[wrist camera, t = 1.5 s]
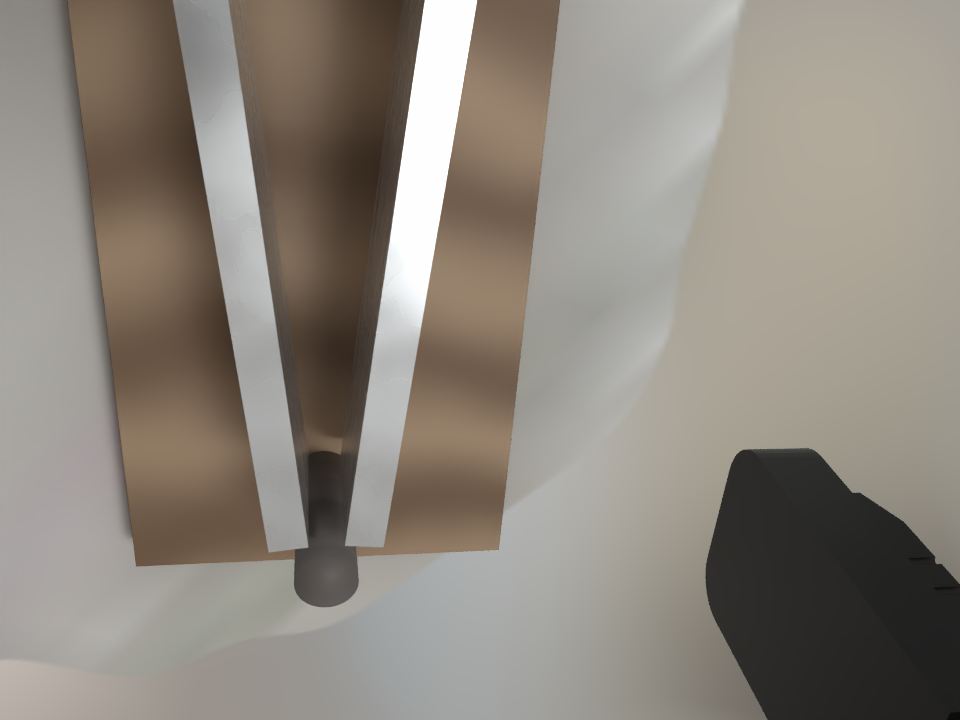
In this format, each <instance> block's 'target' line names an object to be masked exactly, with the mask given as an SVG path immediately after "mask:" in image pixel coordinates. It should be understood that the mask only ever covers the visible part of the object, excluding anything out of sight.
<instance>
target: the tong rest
mask: <svg viewBox="0 0 960 720" xmlns="http://www.w3.org/2000/svg"><path fill="white" fill-rule="evenodd" d="M67 2H68V10H69V18H70V26H71V34H72V43H73V51H74V59H75V67H76V76H77V84H78V92H79V100H80V108H81V117H82V125H83V133H84V141H85V150H86V158H87V166H88V174H89V182H90V191H91V199H92V207H93V215H94V224H95V232H96V240H97V248H98V256H99V265H100V273H101V281H102V289H103V298H104V306H105V314H106V322H107V330H108V339H109V347H110V355H111V363H112V372H113V380H114V388H115V396H116V404H117V413H118V421H119V429H120V437H121V446H122V454H123V462H124V470H125V478H126V487H127V495H128V503H129V511H130V520H131V528H132V536H133V544H134V552H135V561H136V566H154V565H176V564H198V563H220V562H242V561H264V560H286V559H295V571H294V587H295V591H296V593H297V595H298V596H299V597H300V598H301V599H302V600H303V601H304V602H306V603H308V604H310V605H313V606H317V607H332V606H336V605H339V604H341V603H343V602H345V601H347V600H348V599H349V598H351V597H352V596H353V594H354V593H355V592H356V590H357V587H358V582H359V580H358V566H357V556H374V555H396V554H418V553H440V552H462V551H483V550H499V542H500V534H501V525H502V516H503V507H504V498H505V489H506V480H507V471H508V462H509V453H510V444H511V435H512V426H513V417H514V408H515V399H516V390H517V381H518V372H519V363H520V354H521V345H522V336H523V327H524V318H525V309H526V300H527V292H528V283H529V274H530V265H531V256H532V247H533V238H534V229H535V220H536V211H537V202H538V193H539V184H540V175H541V166H542V157H543V148H544V139H545V130H546V121H547V112H548V103H549V94H550V85H551V76H552V67H553V58H554V50H555V41H556V32H557V23H558V14H559V5H560V0H477V2H476V8H475V14H474V20H473V26H472V32H471V37H470V43H469V49H468V55H467V61H466V67H465V73H464V78H463V84H462V90H461V96H460V102H459V108H458V114H457V120H456V125H455V131H454V137H453V143H452V149H451V155H450V161H449V167H448V172H447V178H446V184H445V190H444V196H443V202H442V208H441V213H440V219H439V225H438V231H437V237H436V243H435V249H434V255H433V260H432V266H431V272H430V278H429V284H428V290H427V296H426V302H425V307H424V313H423V319H422V325H421V331H420V337H419V343H418V348H417V354H416V360H415V366H414V372H413V378H412V384H411V390H410V395H409V401H408V407H407V413H406V419H405V425H404V431H403V437H402V442H401V448H400V454H399V460H398V466H397V472H396V478H395V483H394V489H393V495H392V501H391V507H390V513H389V519H388V525H387V530H386V536H385V542H384V547H359V546H345V537H344V518H343V500H342V481H341V463H340V453H341V445H342V438H343V431H344V423H345V416H346V409H347V401H348V394H349V387H350V379H351V372H352V365H353V357H354V350H355V343H356V335H357V328H358V321H359V313H360V306H361V299H362V291H363V284H364V276H365V269H366V262H367V254H368V247H369V240H370V232H371V225H372V218H373V210H374V203H375V196H376V188H377V181H378V174H379V166H380V159H381V152H382V144H383V137H384V130H385V122H386V115H387V108H388V100H389V93H390V86H391V78H392V71H393V64H394V56H395V49H396V42H397V34H398V27H399V20H400V12H401V5H402V0H246V8H247V15H248V22H249V29H250V37H251V44H252V51H253V58H254V66H255V73H256V80H257V87H258V95H259V102H260V109H261V116H262V124H263V131H264V138H265V145H266V153H267V160H268V167H269V174H270V182H271V189H272V196H273V203H274V211H275V218H276V225H277V232H278V239H279V247H280V254H281V261H282V268H283V276H284V283H285V290H286V297H287V305H288V312H289V319H290V326H291V334H292V341H293V348H294V355H295V363H296V370H297V377H298V384H299V392H300V399H301V406H302V413H303V421H304V428H305V435H306V442H307V450H308V548H301V549H293V550H285V551H277V552H268V546H267V540H266V534H265V529H264V523H263V517H262V511H261V506H260V500H259V494H258V488H257V483H256V477H255V471H254V465H253V459H252V454H251V448H250V442H249V436H248V431H247V425H246V419H245V413H244V408H243V402H242V396H241V390H240V385H239V379H238V373H237V367H236V362H235V356H234V350H233V344H232V339H231V333H230V327H229V321H228V315H227V310H226V304H225V298H224V292H223V287H222V281H221V275H220V269H219V264H218V258H217V252H216V246H215V241H214V235H213V229H212V223H211V218H210V212H209V206H208V200H207V195H206V189H205V183H204V177H203V171H202V166H201V160H200V154H199V148H198V143H197V137H196V131H195V125H194V120H193V114H192V108H191V102H190V97H189V91H188V85H187V79H186V74H185V68H184V62H183V56H182V51H181V45H180V39H179V33H178V28H177V22H176V16H175V10H174V4H173V0H67Z"/></svg>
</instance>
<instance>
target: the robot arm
mask: <svg viewBox="0 0 960 720" xmlns="http://www.w3.org/2000/svg"><path fill="white" fill-rule="evenodd" d="M706 589H707V596H708V601H709V605H710V608H711V611H712V614H713V616H714V618H715V621H716V623H717V625H718V627H719V628H720V630H721V632H722V634H723V636H724V638H725V640H726V642H727V643H728V645H729V647H730V649H731V651H732V653H733V655H734V657H735V659H736V660H737V662H738V664H739V666H740V668H741V670H742V672H743V674H744V676H745V678H746V679H747V681H748V683H749V685H750V687H751V689H752V691H753V692H754V694H755V696H756V698H757V700H758V702H759V704H760V706H761V708H762V709H763V712H764V713H765V715H766V717H767V719H768V720H960V584H959V583H958V582H957V581H956V580H955V579H954V577H953V576H952V575H951V574H950V573H949V572H948V571H947V570H946V568H945V567H944V566H943V565H942V564H936V563H935V556H934V555H933V554H932V553H931V552H930V551H929V549H927V548H926V546H925V545H924V544H923V543H922V542H921V541H920V539H919V538H918V537H917V536H916V535H915V534H914V533H913V532H912V530H911V529H910V528H909V527H908V526H907V525H906V524H905V523H904V522H903V521H901V520H900V519H899V518H897V517H895V516H894V515H893V514H891V513H889V512H888V511H887V510H885V509H884V508H882V507H881V506H879V505H878V504H876V503H875V502H873V501H872V500H870V499H868V498H867V497H865V496H864V495H862V494H861V493H852V492H851V491H850V490H849V488H847V486H846V485H845V484H844V483H843V481H842V480H841V479H840V478H839V477H838V476H837V475H836V473H835V472H834V471H833V470H832V469H831V467H830V466H829V465H828V464H827V463H826V462H825V460H824V459H823V458H822V457H821V456H820V455H819V454H818V453H817V452H816V451H814V450H812V449H809V448H804V449H802V448H800V449H753V450H752V449H749V450H742V451H740V452H739V453H738V454H737V455H736V456H735V458H734V460H733V462H732V464H731V467H730V471H729V475H728V478H727V483H726V486H725V491H724V494H723V498H722V502H721V506H720V510H719V514H718V518H717V522H716V526H715V530H714V534H713V538H712V542H711V546H710V550H709V554H708V558H707V563H706Z"/></svg>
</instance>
